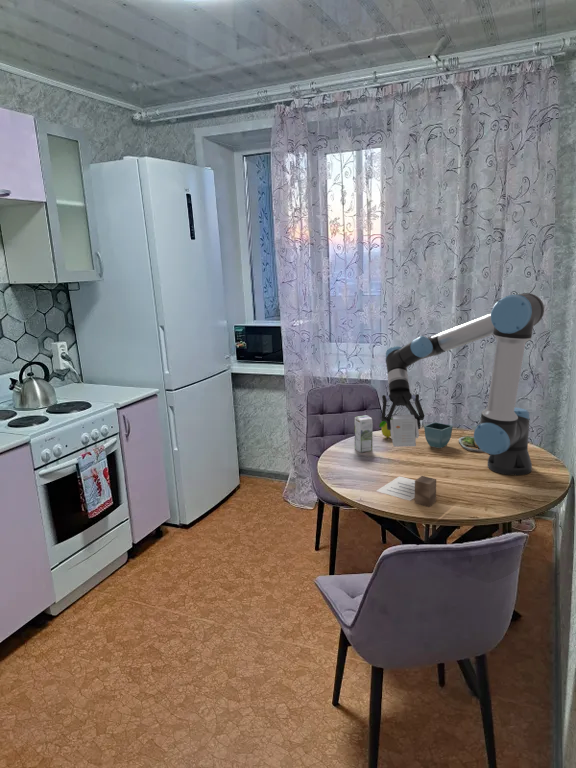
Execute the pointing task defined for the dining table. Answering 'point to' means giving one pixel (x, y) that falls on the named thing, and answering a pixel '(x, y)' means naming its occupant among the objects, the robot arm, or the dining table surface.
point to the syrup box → (363, 433)
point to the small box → (404, 430)
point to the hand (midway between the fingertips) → (405, 436)
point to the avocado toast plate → (469, 443)
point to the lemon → (385, 429)
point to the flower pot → (438, 434)
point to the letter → (400, 488)
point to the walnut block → (425, 491)
